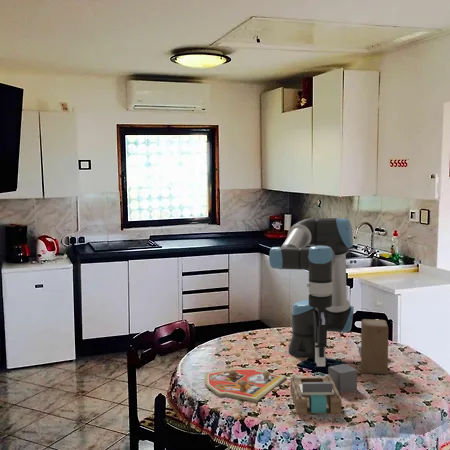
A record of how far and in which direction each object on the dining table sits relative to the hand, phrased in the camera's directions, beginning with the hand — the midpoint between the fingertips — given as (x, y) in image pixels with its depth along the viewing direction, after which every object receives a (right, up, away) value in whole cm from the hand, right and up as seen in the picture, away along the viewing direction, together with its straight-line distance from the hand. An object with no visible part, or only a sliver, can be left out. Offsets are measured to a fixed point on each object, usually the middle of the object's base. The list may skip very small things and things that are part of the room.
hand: (320, 364), depth 181 cm
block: (0, -17, +7) cm, 19 cm away
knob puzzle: (-26, -16, +33) cm, 45 cm away
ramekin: (+32, -12, +59) cm, 69 cm away
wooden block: (+30, -14, +44) cm, 55 cm away
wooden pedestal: (+1, -17, +13) cm, 22 cm away
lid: (0, -12, +10) cm, 16 cm away
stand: (+13, -16, +25) cm, 33 cm away
